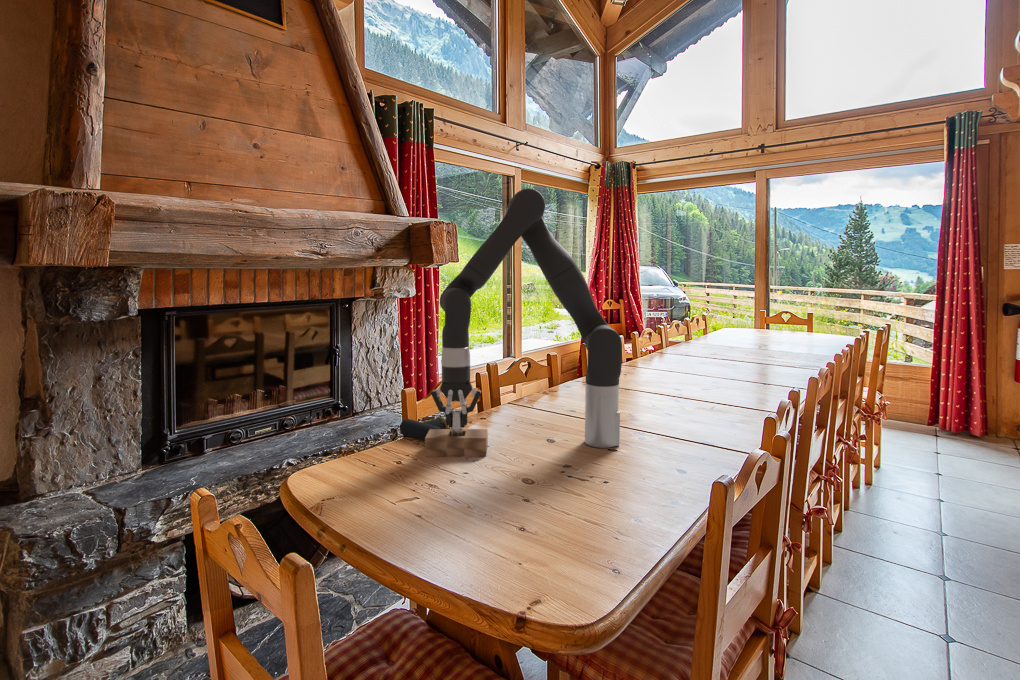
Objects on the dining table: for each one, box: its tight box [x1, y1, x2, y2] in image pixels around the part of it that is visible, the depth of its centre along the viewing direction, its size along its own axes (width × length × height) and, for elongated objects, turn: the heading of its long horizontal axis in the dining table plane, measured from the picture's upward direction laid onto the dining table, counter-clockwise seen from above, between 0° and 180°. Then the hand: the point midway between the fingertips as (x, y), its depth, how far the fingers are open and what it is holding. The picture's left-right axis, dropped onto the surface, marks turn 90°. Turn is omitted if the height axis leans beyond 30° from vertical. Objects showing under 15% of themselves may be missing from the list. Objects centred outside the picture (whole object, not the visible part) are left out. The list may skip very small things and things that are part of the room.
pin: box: [450, 408, 464, 436], centre depth 145 cm, size 3×3×10 cm
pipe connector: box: [399, 416, 451, 443], centre depth 158 cm, size 12×5×15 cm
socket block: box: [424, 428, 489, 458], centre depth 145 cm, size 16×8×5 cm, turn 90°
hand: (456, 426), depth 144 cm, fingers closed on pin, 3 cm apart
